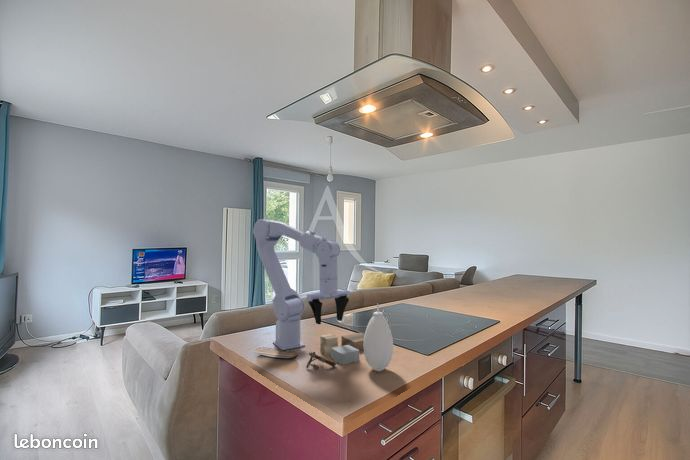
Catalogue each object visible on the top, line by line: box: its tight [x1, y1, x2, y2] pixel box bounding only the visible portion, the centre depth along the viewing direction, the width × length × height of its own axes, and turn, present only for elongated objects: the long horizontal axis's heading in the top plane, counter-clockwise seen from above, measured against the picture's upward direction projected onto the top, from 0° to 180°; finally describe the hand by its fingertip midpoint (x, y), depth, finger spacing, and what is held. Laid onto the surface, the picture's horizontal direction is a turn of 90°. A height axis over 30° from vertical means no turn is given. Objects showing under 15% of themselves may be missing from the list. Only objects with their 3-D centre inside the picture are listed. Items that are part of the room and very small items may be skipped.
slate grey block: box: [330, 345, 360, 366], centre depth 92 cm, size 6×6×3 cm
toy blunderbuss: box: [305, 351, 337, 370], centre depth 86 cm, size 2×8×4 cm, turn 98°
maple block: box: [319, 333, 339, 356], centre depth 99 cm, size 4×4×5 cm
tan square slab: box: [340, 332, 365, 352], centre depth 104 cm, size 8×8×3 cm
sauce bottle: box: [363, 303, 394, 372], centre depth 85 cm, size 8×8×18 cm
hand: (329, 321), depth 99 cm, fingers open, 7 cm apart
